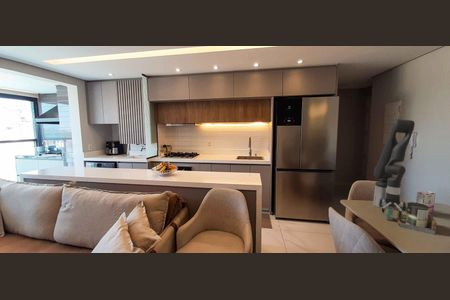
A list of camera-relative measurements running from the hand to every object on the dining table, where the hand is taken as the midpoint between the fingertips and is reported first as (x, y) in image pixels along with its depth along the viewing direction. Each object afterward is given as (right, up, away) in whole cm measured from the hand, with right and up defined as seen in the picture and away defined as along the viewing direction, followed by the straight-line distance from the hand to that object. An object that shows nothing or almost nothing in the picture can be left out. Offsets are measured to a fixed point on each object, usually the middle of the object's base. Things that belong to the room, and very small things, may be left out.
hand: (391, 214), depth 136 cm
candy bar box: (+34, -3, +10) cm, 35 cm away
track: (+10, -5, -6) cm, 12 cm away
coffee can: (+11, -5, -7) cm, 14 cm away
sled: (+8, -4, -5) cm, 10 cm away
